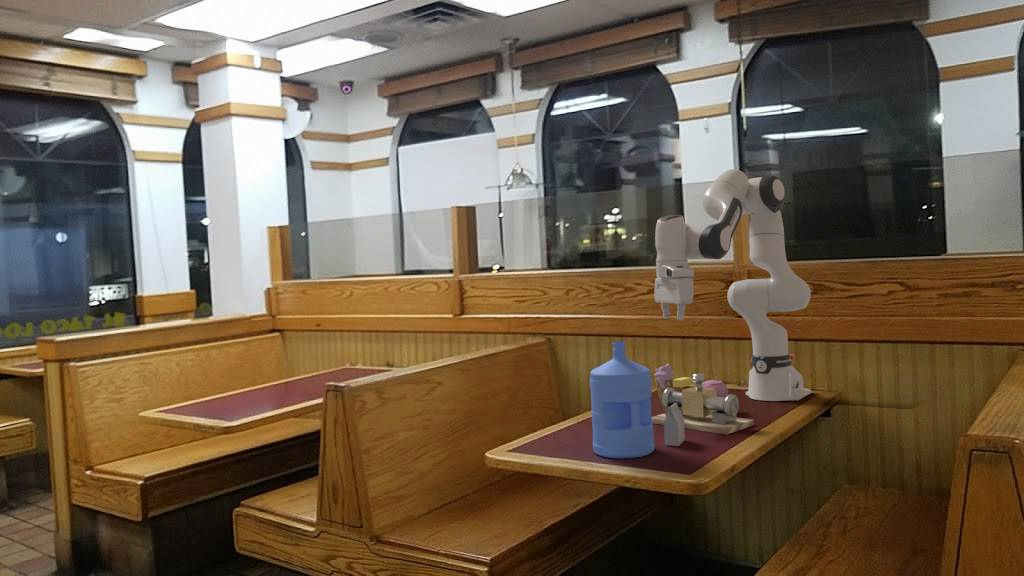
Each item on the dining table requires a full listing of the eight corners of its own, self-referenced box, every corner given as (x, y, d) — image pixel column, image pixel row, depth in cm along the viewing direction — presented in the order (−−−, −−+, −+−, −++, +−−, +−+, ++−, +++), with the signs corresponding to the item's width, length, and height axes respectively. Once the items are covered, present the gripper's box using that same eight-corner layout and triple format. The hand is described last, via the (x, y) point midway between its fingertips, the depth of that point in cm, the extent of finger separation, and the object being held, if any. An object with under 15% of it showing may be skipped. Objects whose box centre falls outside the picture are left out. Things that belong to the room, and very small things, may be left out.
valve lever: (697, 380, 241) (697, 373, 241) (706, 381, 239) (706, 374, 239) (672, 386, 233) (672, 379, 233) (681, 387, 230) (681, 380, 230)
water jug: (582, 449, 217) (577, 342, 215) (633, 441, 223) (629, 337, 222) (612, 462, 202) (607, 348, 201) (667, 453, 209) (662, 342, 207)
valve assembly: (677, 414, 254) (675, 375, 253) (753, 425, 235) (752, 382, 234) (649, 422, 244) (647, 382, 244) (726, 434, 225) (724, 390, 224)
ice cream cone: (675, 413, 256) (673, 364, 255) (654, 413, 257) (652, 365, 256) (675, 408, 262) (673, 361, 261) (655, 409, 263) (653, 362, 263)
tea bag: (684, 440, 222) (683, 402, 221) (678, 446, 215) (677, 407, 215) (671, 439, 223) (669, 402, 223) (664, 445, 217) (663, 407, 217)
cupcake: (722, 415, 249) (721, 382, 248) (695, 413, 253) (693, 381, 253) (732, 410, 256) (731, 377, 255) (705, 408, 261) (704, 376, 260)
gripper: (648, 271, 249) (649, 318, 250) (675, 271, 229) (677, 321, 230) (668, 271, 251) (669, 317, 251) (696, 270, 231) (698, 320, 231)
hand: (673, 319), depth 240 cm, fingers open, 8 cm apart
